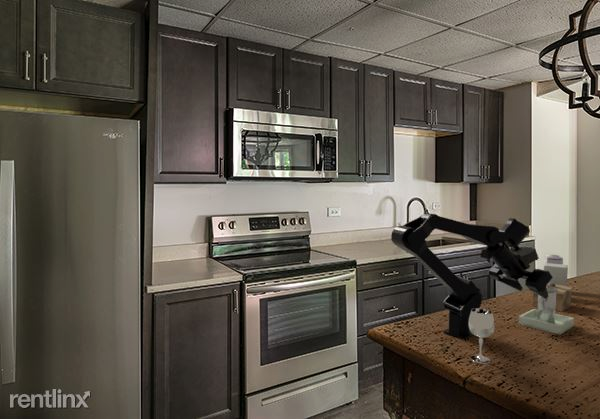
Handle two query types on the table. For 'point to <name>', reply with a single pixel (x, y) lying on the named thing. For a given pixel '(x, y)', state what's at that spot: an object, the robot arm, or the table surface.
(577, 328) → the table surface
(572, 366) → the table surface
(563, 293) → the lidded bin
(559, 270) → the supplement box
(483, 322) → the wineglass
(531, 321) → the tray
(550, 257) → the syrup box
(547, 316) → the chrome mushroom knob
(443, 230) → the robot arm
